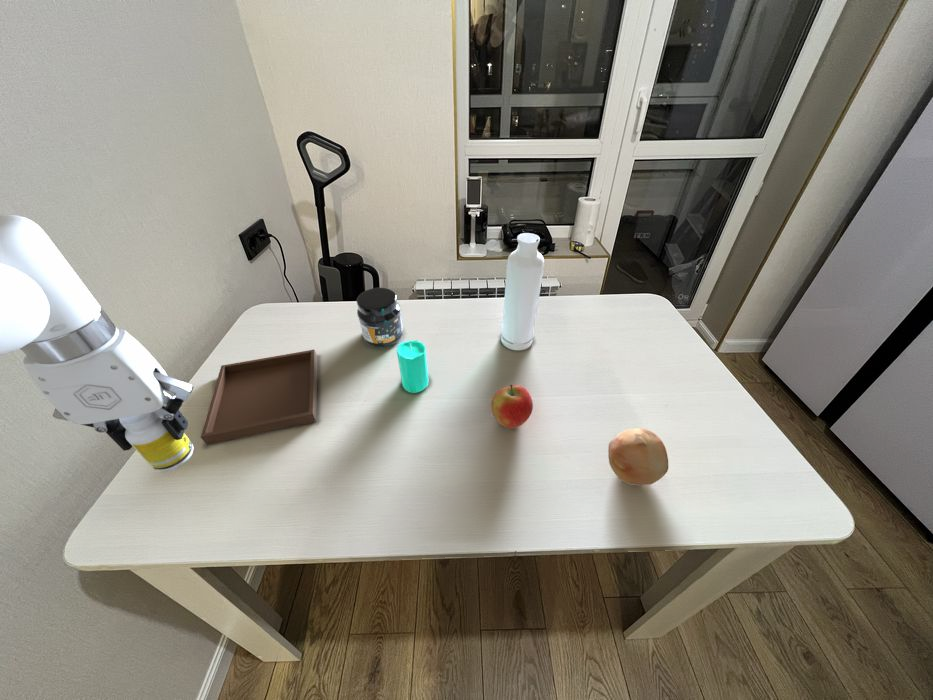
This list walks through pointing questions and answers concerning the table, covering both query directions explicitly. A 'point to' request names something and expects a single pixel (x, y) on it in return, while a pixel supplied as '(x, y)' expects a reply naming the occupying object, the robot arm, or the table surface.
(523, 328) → the bottle
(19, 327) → the robot arm
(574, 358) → the table surface
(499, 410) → the apple
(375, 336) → the supplement container
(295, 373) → the tray
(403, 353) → the candle
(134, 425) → the supplement bottle
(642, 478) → the onion
